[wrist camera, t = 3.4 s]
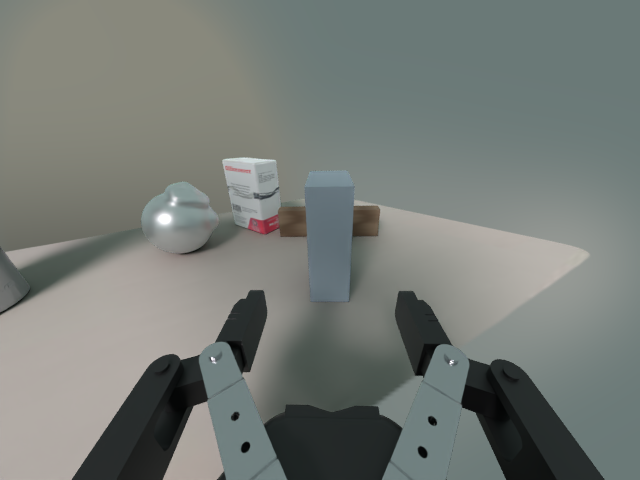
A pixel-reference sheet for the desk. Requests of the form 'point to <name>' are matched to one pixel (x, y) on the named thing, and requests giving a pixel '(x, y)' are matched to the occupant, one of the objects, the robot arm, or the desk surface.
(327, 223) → the notched block
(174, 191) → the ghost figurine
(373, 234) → the notched rail
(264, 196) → the ink box
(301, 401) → the desk surface
